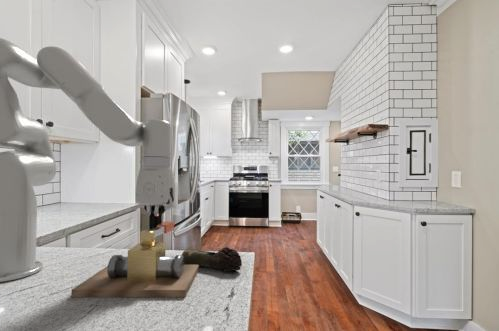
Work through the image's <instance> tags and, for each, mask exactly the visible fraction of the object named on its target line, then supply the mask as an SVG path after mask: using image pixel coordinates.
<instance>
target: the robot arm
mask: <svg viewBox="0 0 499 331" xmlns="http://www.w3.org/2000/svg"><path fill="white" fill-rule="evenodd" d="M9 79H11V80H13V81H16V82H17V83H19V84H22V85H25V86H27V87H31V88H41V89H53V90H61V91H62V92H63V93H64V94H65V95H66V97H68V98H69V99H70V100H71V101H73V103H74V104H75V105H76V106H77V108H78V109H79V110H80V111H81V113H82V114H83V115H84V116H85V117H86V118H87V119H88V120H89V122H91V123H92V124H93V125H94V126H95V127H96V128H97V129H98V130H99V131H101V133H102V134H104V135H105V136H106V137H107V138H108V139H109V140H111V141H113V142H115V143H116V144H121V145H124V146H127V147H133V148H134V147H139V146H140V147H142V148H141V149H142V154H141V156H142V158H141V159H140V161H139V163H140V165H141V168H139V170H138V175H137V179H136V188H135V202H136V203H137V204H138V207H139V208H141V209H144V210H145V212H146V215H147V216H148V226H149V227H148V230H150V229H152V228H155V227H157V225H158V224H161V223H163V219H162V218H163V215H164V214H165V212H166V211H167V210H171V209H173V208H174V202H175V192H176V191H175V179H174V174H173V173H174V172H173V169H172V168H171V160H172V159H171V154H172V153H171V150H172V149H171V146H172V144H171V143H172V126H171V123H170V122H169V121H167V120H164V119H158V118H149V119H146V120H145V121H142V122H141V121H138V120H136V119H134V118H133V117H131V116H130V115H129V114H128V113H127V112H126V111H125V110H123V109H122V108H121V107H120V106H119V104H117V103H116V102H115V100H113V99H112V98H111V97H110V96H109V95H108V94H107V92H106V91H105V86H104V85H103V84H102V83H101V82H99V81H98V79H96V77H94V76H93V75H92V74H91V73H90V72H89V71H88V70H87V68H86V67H85V66H84V64H82V63H81V62H80V61H79V60H78V59H76V58H75V57H74V56H73V55H72V54H70V53H69V52H68V51H67V50H64V49H62V48H60V47H58V46H50V45H49V46H44V47H43V48H41V49H39V51H38V52H37V54H36V57H35V56H33V55H32V54H30V53H29V52H28V51H26V50H24V49H23V48H21V47H20V46H18V45H16V44H15V43H13V42H11V41H10V40H7V39H5V38H2V37H0V148H4V149H5V148H6V149H14V150H13V151H12V150H6V151H1V152H0V283H3V282H10V281H13V280H19V279H22V278H25V277H29V276H32V275H34V274H36V273H38V272H40V271H41V270H43V268H44V264H43V262H42V261H39V260H37V258H36V257H37V229H38V228H37V226H38V221H37V220H38V218H37V217H38V200H37V196H36V193H35V189H34V187H40V186H45V185H47V184H49V183H50V182H51V181H53V180H54V178H55V176H56V174H57V164H56V159H55V156H54V155H55V154H54V151H53V146H52V143H51V142H52V141H51V139H50V135H49V132H48V130H47V128H45V126H44V125H43V124H42V123H41V122H39V120H38V121H37V120H36V119H33V118H31V117H28V116H25V115H24V113H23V111H22V109H21V106H20V102H19V97H18V94H17V92H16V90H15V88H14V87H13V85H12V84H11V82H10V80H9Z"/></svg>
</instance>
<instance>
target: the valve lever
mask: <svg viewBox="0 0 499 331" xmlns="http://www.w3.org/2000/svg"><path fill="white" fill-rule="evenodd" d="M174 230H175V221H162V223H161V224H158V225H157V227H155V228H152V229H150V230H149V229H145V230H141V231H140V242H141V246H144V247H146V246H153V245H155V243H156V237H158V236H161V235H163V234H167V233H170V232H172V231H174Z"/></svg>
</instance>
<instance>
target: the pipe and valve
mask: <svg viewBox="0 0 499 331" xmlns="http://www.w3.org/2000/svg"><path fill="white" fill-rule="evenodd" d="M107 266H108V268H107V273H108V277H109V278H117V277H118V276H127V282H156V281H157V279H158V278H159V277H160V276H173V277H174V278H180V277H181V276H182V274H183V271H184V256H183V255H182V254H176V255H174V256H166V242H155V245H153V246H146V247H144V246H141V241H140V242H139V243H137V244H135V245H134V246H133V247H131V248H129V249H128V250H127V256H124V255H122V254H113V255H112V256H111V257H110V259H109V261H108V263H107Z"/></svg>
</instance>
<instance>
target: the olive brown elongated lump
mask: <svg viewBox="0 0 499 331" xmlns="http://www.w3.org/2000/svg"><path fill="white" fill-rule="evenodd" d="M181 255H183V256H184V265H199V267H206V268H214V269H217V270H221V271H224V272H226V273H227V274H230V273H231V272H232V271H240V270H241V268H242V266H243V264H242V263H243V262H242V258H241V257H242V256H240V254H239V252H238V251H237V250H235V249H233V248H230V247H228V246H226V247H223V248H221V249H220V250H218V251H217V252H215V251H208V250H201V249H193V248H186V249H184V251H182V254H181Z"/></svg>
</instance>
